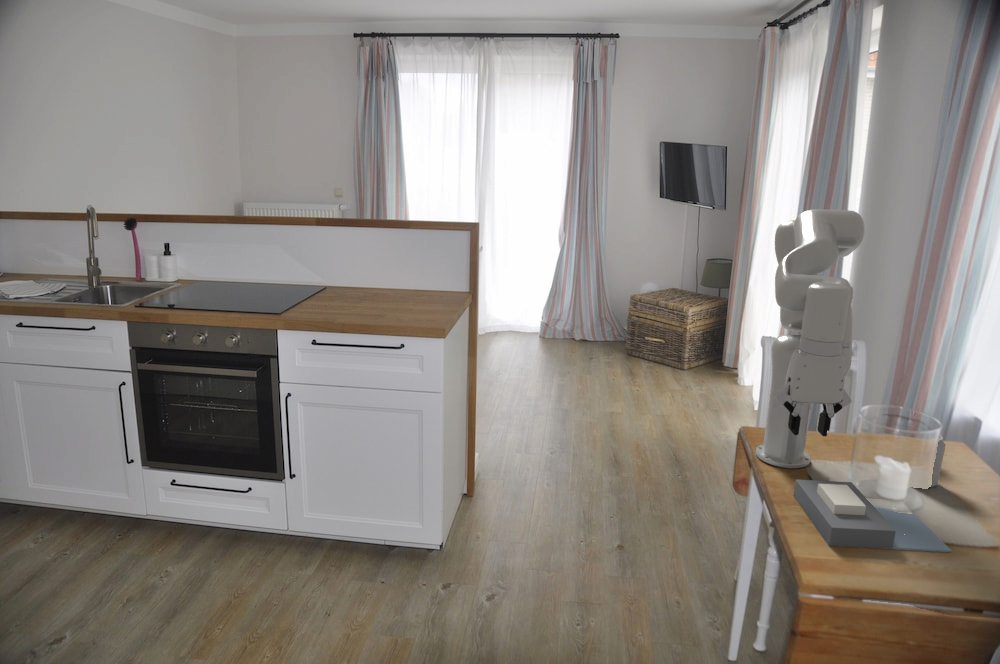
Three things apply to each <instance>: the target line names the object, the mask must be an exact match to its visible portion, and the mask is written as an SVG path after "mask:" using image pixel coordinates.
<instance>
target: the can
mask: <svg viewBox="0 0 1000 664" xmlns="http://www.w3.org/2000/svg"><path fill="white" fill-rule="evenodd" d="M939 435H940V434H939ZM945 450H946V443H945V441H944V437H943V436H942V435H940V437H939V442H938V447H937V453H936V459H935V462H934V467H933V474H932V485H931V488H933V487H935V486H937V485H938V484H939V480H940V476H941V475H940V474H941V470H942V464H943V461H944V455H945Z"/></svg>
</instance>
